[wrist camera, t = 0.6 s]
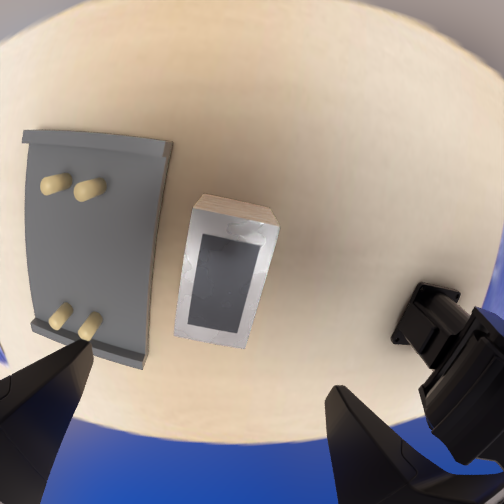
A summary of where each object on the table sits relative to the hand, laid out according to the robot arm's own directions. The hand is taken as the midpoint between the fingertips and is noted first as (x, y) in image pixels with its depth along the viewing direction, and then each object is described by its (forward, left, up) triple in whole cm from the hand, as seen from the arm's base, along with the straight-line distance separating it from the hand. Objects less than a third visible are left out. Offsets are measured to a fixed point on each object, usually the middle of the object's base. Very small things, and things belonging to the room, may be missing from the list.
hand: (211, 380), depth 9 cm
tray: (+11, +2, -12) cm, 16 cm away
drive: (0, 0, -12) cm, 12 cm away
